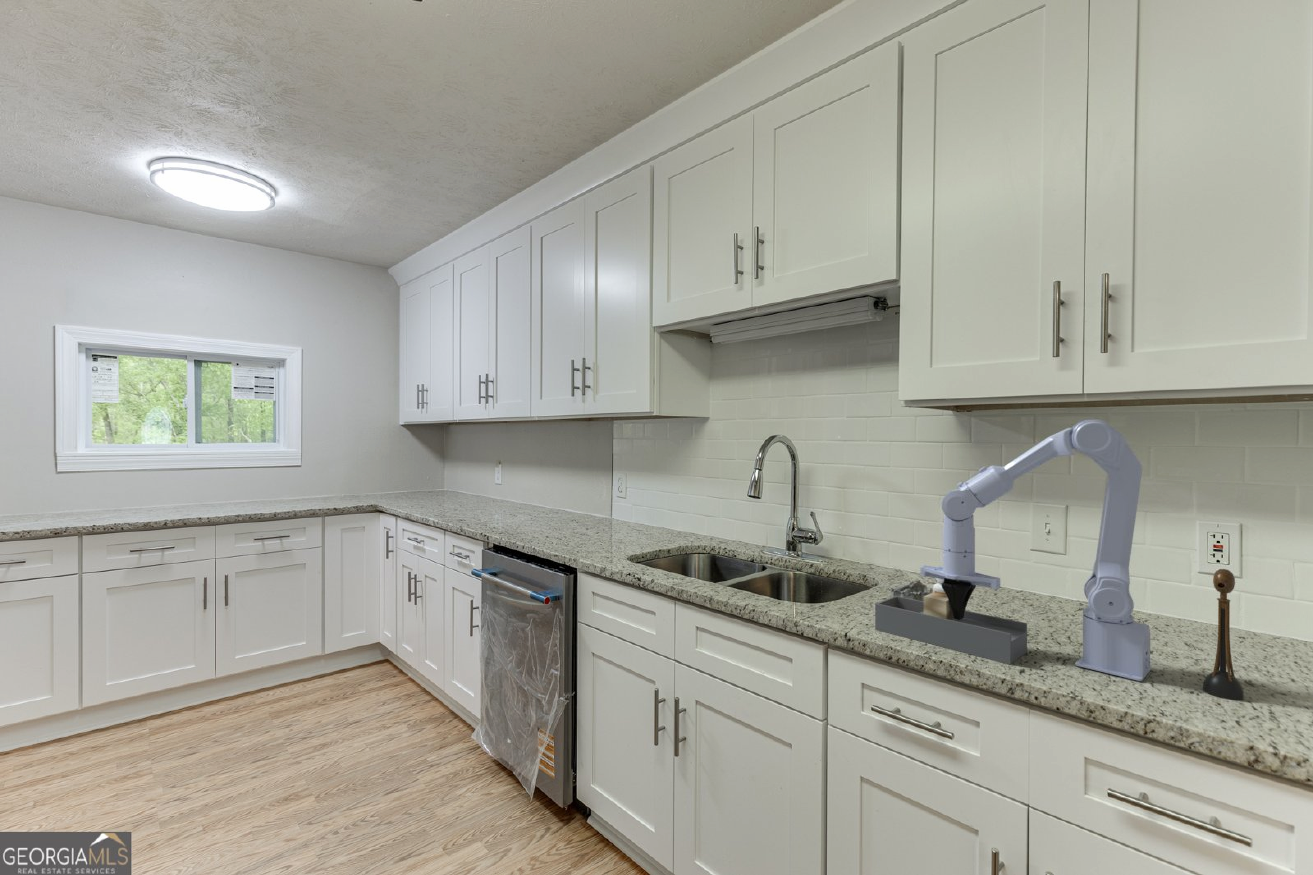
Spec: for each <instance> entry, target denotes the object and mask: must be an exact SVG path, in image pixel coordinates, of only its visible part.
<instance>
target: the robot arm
mask: <svg viewBox="0 0 1313 875" xmlns="http://www.w3.org/2000/svg"><path fill="white" fill-rule="evenodd" d="M1074 450H1076V451H1077V452H1079V453H1080V454H1083V455H1084V456H1086V457H1088V458H1090V459H1092V460H1093V461H1094V462H1095V463H1096V464H1097V465H1098V466H1099V467H1100V468H1101V469H1102V470H1103V471H1104V472H1105V473H1106V475H1107V476H1106V481H1105V482H1106V483H1105V489H1104V498H1103V502H1102V503H1103V504H1102V510H1101V518H1100V520H1101V521H1100V526H1099V533H1098V542H1097V549H1096V556H1095V557H1096V558H1095V561H1094V564H1093V567H1092V573H1091V575H1090V577H1089V578H1088V579H1087V580H1086V581H1085V583H1084V585H1083V586H1084V587H1083V591H1084V595H1085V598H1086V599H1087V603H1088V605H1087V607H1085V608H1084V609H1083V610H1082V656H1080V658H1079V659H1077V660H1076V661H1075V662H1074V663H1075V664H1074V665H1075V666H1077V667H1081V668H1085V669H1088V670H1093V671H1097V672H1100V673H1101V672H1102V673H1105V674H1110V675H1112V676H1113V675H1114V676H1117V677H1121V678H1125V679H1128V680H1134V681H1138V682H1142V681H1143V680H1144V679H1145V678H1146V676H1147V675H1148V674H1149V673H1150V671H1151V670H1152V667H1151V629H1150V626H1149V625H1147V624H1145V623H1141V622H1138V621H1135V620H1134V616H1133V614H1132V613H1133V611H1134V607H1135V603H1134V600H1133V597H1132V595H1131V593H1130V584H1131V582H1130V581H1131V580H1130V561H1131V554H1132V546H1133V539H1134V532H1135V525H1136V517H1137V511H1138V503H1139V495H1140V487H1141V481H1142V476H1143V475H1142V474H1143V465H1142V464H1141V461H1140V460H1139V458H1138V457H1137V456H1136V454H1135V452H1134V451H1133V450H1132V448H1131V447H1130V445H1129V444H1128V442H1127V440H1126V439H1125V436H1124V434H1123V433H1122V432H1121V431H1119V430H1118V429H1117V428H1115V427H1114V426H1112V425H1111V424H1110V423H1108V422H1106V421H1104V420H1101V419H1085V420H1082V421H1079V422H1078V423H1076V424H1074V425H1073V426H1072V427H1067V428H1065V429H1063V430H1060V431H1059V432H1057V433H1054V434H1052V435H1049V436H1048V437H1046V438H1045V439H1042V441H1040V442H1039V443H1037V444H1035V445H1034V446H1033V447H1031V448H1030V449H1028V450H1026V451H1025V452H1024V453H1022V454H1020V455H1019V456H1018V457H1016V458H1015V459H1013V460H1012V461H1010V462H1009V463H1007V464H1006V465H1003V466H999V465H994V464H993V465H990V466H988V467H986V466H983V467H981V468H979V469H978V472H979V473H978V474H976V475H974V476H973V477H971V478H970V479H968V480H967V481H965V482H963V481H961V482H958V483H957V484H956V485H957V487H958V488H956V489H951V490H950V491H949V492H947V493H946V494H945V495H944V496H943V498H942V500H941V510H942V511H943V513H944V514H943V518H942V521H943V526H942V567H941V566H931V565H922V566H919V568H920V569H919V571H920V577H923V578H924V577H925V578H926V577H928V578H933V579H934V578H935V579H936V578H938V579H944V583H942V588H943V590H944V592H945V593H946V595H947V597H948V600H949V602H950V605H951V608H952V612H953V616H954V619H957V620H961V619H963V618H964V612H965V610H966V608H967V605H968V602H969V600H970V598H971V596H972V594H973V593H974V590H975V589H976V587H977V586H978V587H984V588H990V589H992V590H999V589H1001V577H997V576H991V575H988V574H983V573H981V572H976V528H975V526H974V522H975V521H974V517H975V516H974V513H975V511H976V509H977V508H981V509H983V508H985V507H986V506H988V505H990V504H991V503H993V502H995V501H996V500H998V499H999V498H1002V497H1003V496H1005V495H1006V494H1008V493H1009V492H1012V491H1013V489H1014V485H1015V484H1014V482H1015V480H1017V479H1018V478H1019V479H1020V477H1022V476H1023V475H1026V474H1027V473H1029V472H1031V471H1033V470H1034V469H1036V468H1038V467H1040V466H1042V465H1043V464H1045V463H1046V462H1049V461H1050V460H1052V459H1053V458H1057V457H1067V456H1075V452H1074Z"/></svg>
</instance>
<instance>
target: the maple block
mask: <svg viewBox="0 0 1313 875" xmlns="http://www.w3.org/2000/svg"><path fill="white" fill-rule="evenodd" d="M924 614H926V615H931V616H935V617H940V618H944V619H948V620H955V619H954V616H953V612H952V608H951V605H950V602H949V600H948V597H947V595H944V594H939V593H934V592H933V593H931V594H928V595H926V596H924Z"/></svg>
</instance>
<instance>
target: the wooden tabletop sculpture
mask: <svg viewBox="0 0 1313 875" xmlns="http://www.w3.org/2000/svg"><path fill="white" fill-rule="evenodd" d="M1212 581H1213V582H1212V584H1213V587H1214V589H1215V591H1217V592H1218V593H1219V597H1217V598H1216V600H1217V601H1218V603H1217V604H1218V605H1217V606H1218V608H1217V609H1218V610H1217V611H1218V612H1217V614H1218V615H1217V616H1218V617H1217V618H1218V619H1217V622H1218V623H1217V644H1216V654H1215V662H1214V666H1213V671H1211V673H1209V674H1207V675H1206V677H1205V679H1204V680H1203V683H1202V684H1203V685H1202V691H1204V692H1205V693H1206V694H1209V695H1211V696H1214V697H1216V698H1220V699H1225V700H1232V701H1241V700H1244V688H1243V686H1242V684H1241V682H1240V681H1239V680H1238V678H1236V676H1235V673H1234V672H1235V671H1234V667H1233V662H1232V661H1233V659H1232V653H1231V652H1232V651H1231V640H1230V639H1231V636H1230V633H1231V631H1230V630H1231V628H1230V624H1231V623H1230V622H1231V621H1230V616H1231V614H1230V612H1231V611H1230V609H1231V608H1230V607H1231V606H1230V603H1231V599H1228V594H1231V593H1232V592H1233V591H1234V589H1235V586H1236V578H1235V575H1234V574H1233V572H1232V571H1230V570H1229V569H1226V568H1219V569H1218V570H1216V571H1215V572H1214V575H1213V580H1212Z"/></svg>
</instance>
